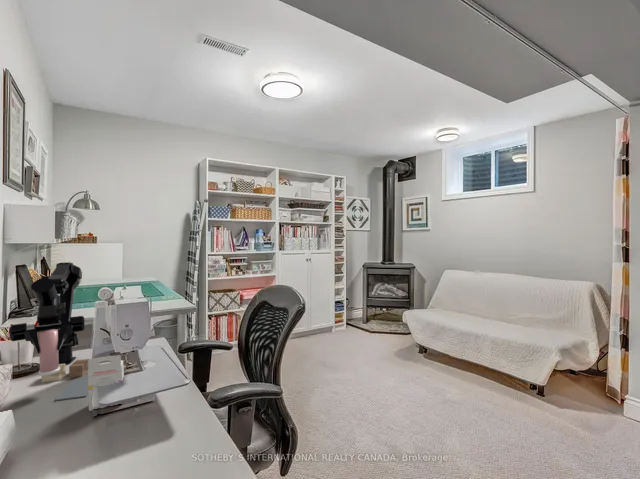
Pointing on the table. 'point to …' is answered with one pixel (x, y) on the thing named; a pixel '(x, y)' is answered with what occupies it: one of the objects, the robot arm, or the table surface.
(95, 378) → the ink cartridge box
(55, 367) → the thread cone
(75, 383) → the slate mat
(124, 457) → the table surface
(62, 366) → the birch block
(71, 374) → the walnut block
